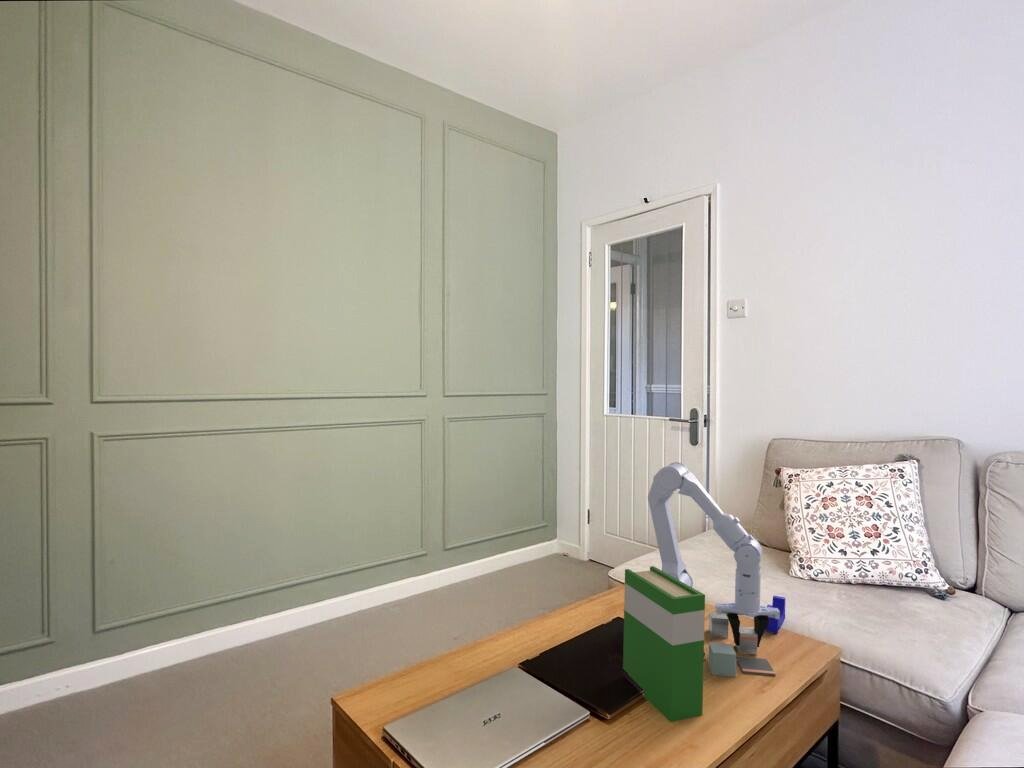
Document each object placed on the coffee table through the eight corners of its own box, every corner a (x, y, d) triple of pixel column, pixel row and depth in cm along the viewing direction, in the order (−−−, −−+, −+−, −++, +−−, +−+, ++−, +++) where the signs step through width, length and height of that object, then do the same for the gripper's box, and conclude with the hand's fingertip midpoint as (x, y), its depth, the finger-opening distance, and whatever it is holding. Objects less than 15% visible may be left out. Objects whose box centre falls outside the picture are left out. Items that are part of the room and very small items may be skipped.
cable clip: (767, 615, 162) (768, 594, 161) (784, 619, 159) (785, 597, 159) (759, 630, 152) (759, 608, 152) (777, 634, 149) (778, 612, 149)
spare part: (739, 653, 138) (739, 633, 138) (735, 645, 142) (735, 625, 142) (757, 655, 138) (757, 634, 137) (752, 647, 142) (753, 627, 141)
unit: (712, 674, 128) (712, 652, 128) (708, 662, 133) (708, 641, 133) (735, 676, 127) (736, 654, 127) (730, 664, 133) (730, 643, 133)
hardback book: (622, 676, 127) (624, 569, 126) (651, 671, 129) (653, 566, 129) (670, 722, 110) (673, 599, 110) (702, 715, 113) (705, 594, 112)
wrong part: (711, 637, 147) (712, 617, 147) (708, 630, 151) (709, 611, 151) (728, 638, 146) (728, 619, 146) (724, 631, 150) (725, 612, 150)
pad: (742, 672, 129) (742, 670, 129) (735, 657, 136) (735, 655, 136) (775, 675, 128) (775, 673, 128) (766, 660, 135) (766, 658, 135)
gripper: (720, 593, 137) (718, 649, 137) (784, 598, 135) (782, 655, 135) (714, 582, 144) (713, 636, 144) (775, 587, 142) (773, 641, 142)
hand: (746, 644), depth 140 cm, fingers closed on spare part, 4 cm apart
